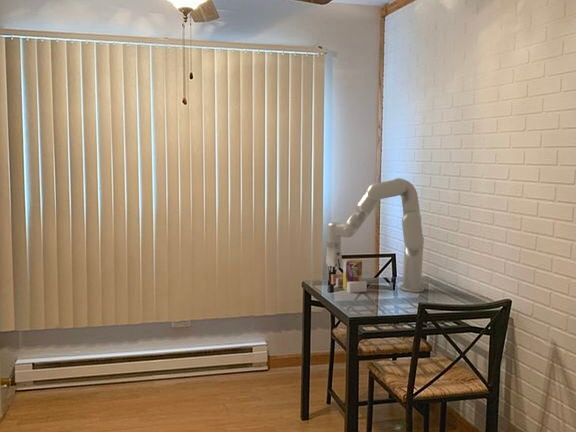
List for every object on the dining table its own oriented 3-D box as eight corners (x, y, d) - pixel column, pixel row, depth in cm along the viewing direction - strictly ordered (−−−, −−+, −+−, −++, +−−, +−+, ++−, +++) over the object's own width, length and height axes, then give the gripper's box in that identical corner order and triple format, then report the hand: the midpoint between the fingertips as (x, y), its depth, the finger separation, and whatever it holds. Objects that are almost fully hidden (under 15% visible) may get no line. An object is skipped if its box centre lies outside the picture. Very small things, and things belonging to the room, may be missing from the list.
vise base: (347, 284, 330) (348, 273, 330) (369, 293, 310) (370, 281, 310) (325, 285, 324) (325, 274, 324) (346, 295, 305) (346, 283, 304)
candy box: (358, 288, 317) (359, 259, 315) (361, 290, 313) (362, 260, 311) (342, 288, 314) (343, 259, 313) (345, 290, 310) (346, 261, 308)
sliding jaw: (345, 282, 328) (345, 273, 328) (354, 286, 320) (354, 276, 320) (329, 283, 324) (329, 274, 324) (337, 287, 316) (338, 277, 315)
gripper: (346, 247, 324) (345, 280, 326) (333, 242, 337) (331, 275, 339) (334, 247, 321) (333, 281, 323) (321, 243, 334) (320, 276, 336)
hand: (332, 278), depth 331 cm, fingers closed
